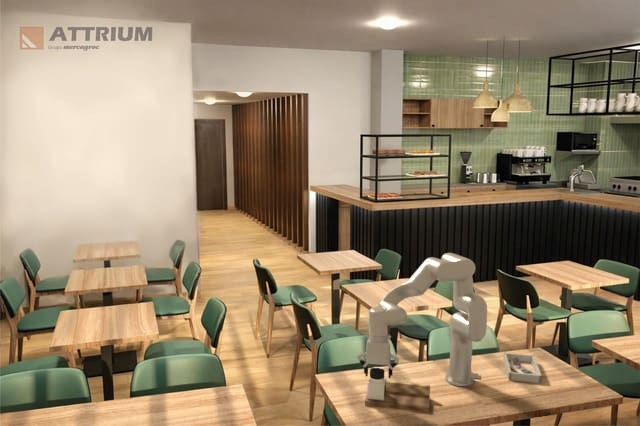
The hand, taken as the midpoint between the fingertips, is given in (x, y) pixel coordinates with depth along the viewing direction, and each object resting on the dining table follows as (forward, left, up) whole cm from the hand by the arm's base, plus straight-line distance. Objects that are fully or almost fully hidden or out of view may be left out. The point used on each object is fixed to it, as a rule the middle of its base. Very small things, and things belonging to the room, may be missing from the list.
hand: (378, 375), depth 232 cm
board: (-8, -1, -11) cm, 14 cm away
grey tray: (-63, -44, -11) cm, 78 cm away
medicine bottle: (0, 0, -9) cm, 9 cm away
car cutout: (-63, -44, -11) cm, 78 cm away
